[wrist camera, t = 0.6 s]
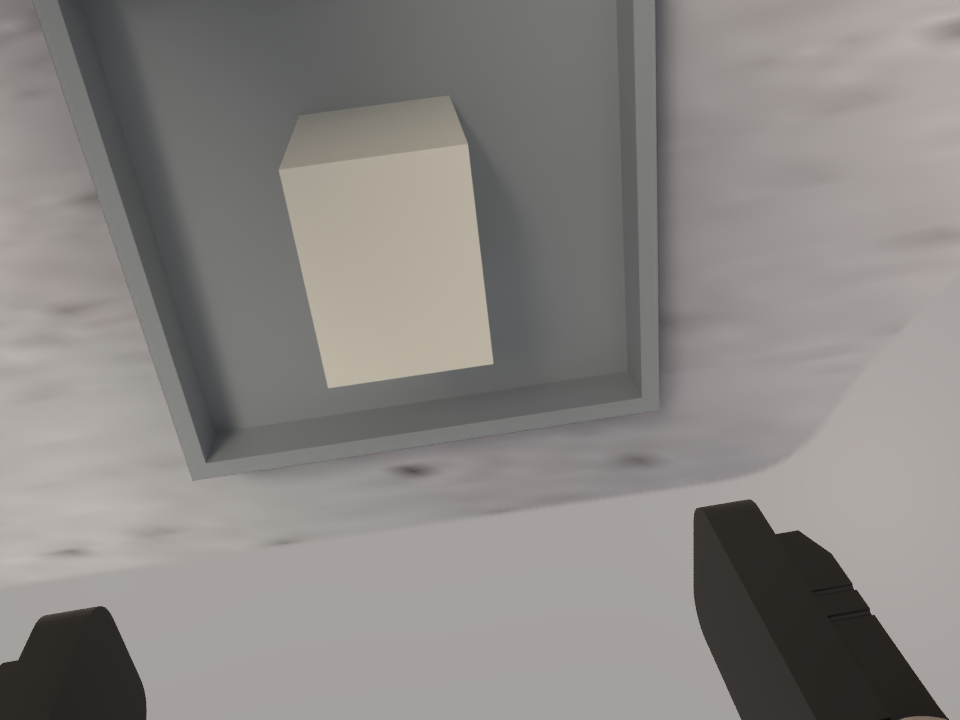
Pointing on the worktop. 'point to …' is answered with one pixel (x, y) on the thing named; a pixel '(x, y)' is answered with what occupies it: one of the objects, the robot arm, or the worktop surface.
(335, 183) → the block
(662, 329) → the worktop surface
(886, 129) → the worktop surface
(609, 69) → the tray
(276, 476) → the worktop surface
